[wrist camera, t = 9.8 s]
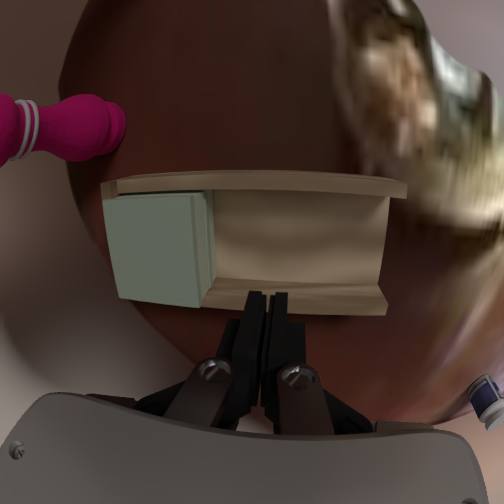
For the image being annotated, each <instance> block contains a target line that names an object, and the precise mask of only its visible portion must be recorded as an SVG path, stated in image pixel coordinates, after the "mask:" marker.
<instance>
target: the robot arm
mask: <svg viewBox="0 0 504 504" xmlns="http://www.w3.org/2000/svg"><path fill="white" fill-rule="evenodd" d="M266 308H267V295H265V294H262V291H252V290H249V293H248V296H247V300H246V303H245V307H244V311H243V314H242V318H241V319H234V318H229V319H228V321H227V324H226V327H225V330H224V333H223V336H222V339H221V341H220V344H219V347H218V350H217V353H216V356H215V357H209V358H206V359H203V360H202V361H200V362H199V363H198V364H197V365H196V366H195V368H194V369H193V371H192V372H191V374H190V375H189V377H188V378H187V380H185V381H183V382H181V383H178V384H176V385H174V386H171V387H169V388H166V389H164V390H162V391H159V392H156V393H154V394H151V395H149V396H146V397H144V398H142V399H140V400H139V401H135V399H134V398H127V397H117V396H108V395H100V394H86V395H82V394H75V393H67V392H55V393H48V394H46V395H43V396H42V397H40V398H39V399H37V400H36V401H35V402H34V403H33V404H32V405H31V406H30V407H29V408H28V410H27V411H26V412H25V413H24V414H23V415H22V417H21V418H20V420H19V421H18V422H17V423H16V425H15V426H14V428H13V429H12V430H11V432H10V433H9V435H8V436H7V438H6V439H5V441H4V443H3V444H2V446H1V448H0V504H489V502H488V496H487V491H486V486H485V483H484V479H483V475H482V472H481V469H480V466H479V463H478V460H477V458H476V456H475V454H474V452H473V450H472V448H471V446H470V444H469V443H468V442H467V441H466V440H465V439H464V438H463V437H462V436H460V435H458V434H456V433H453V432H450V431H444V430H438V429H434V428H433V427H432V426H431V425H429V424H427V423H422V422H398V421H384V420H377V422H370V421H369V420H368V419H367V418H366V417H365V416H363V415H361V414H360V413H358V412H357V411H355V410H354V409H352V408H351V407H349V406H348V405H346V404H345V403H343V402H342V401H340V400H339V399H338V398H336V397H335V396H333V395H332V394H330V393H329V392H327V391H326V390H325V389H323V388H322V384H321V380H320V377H319V374H318V372H317V371H316V370H315V369H314V368H313V367H311V366H309V365H307V364H306V345H305V324H304V322H287V309H288V292H276V293H275V295H270V301H269V308H268V315H267V322H266ZM260 381H261V407H265V416H266V417H267V418H268V419H269V420H270V421H272V422H273V434H261V433H250V432H242V431H236V429H237V426H238V424H239V418H241V417H243V416H244V415H246V414H247V413H250V412H251V406H257V400H258V394H259V388H260Z"/></svg>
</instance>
